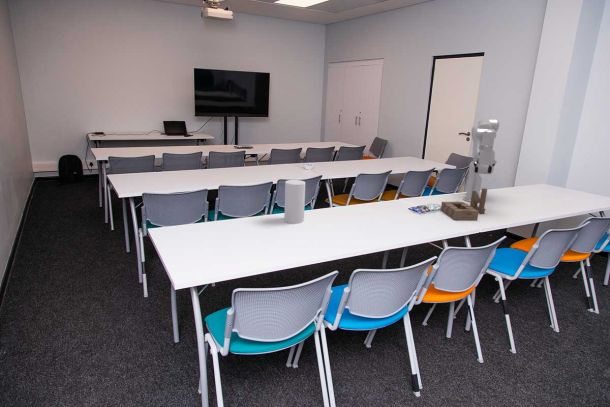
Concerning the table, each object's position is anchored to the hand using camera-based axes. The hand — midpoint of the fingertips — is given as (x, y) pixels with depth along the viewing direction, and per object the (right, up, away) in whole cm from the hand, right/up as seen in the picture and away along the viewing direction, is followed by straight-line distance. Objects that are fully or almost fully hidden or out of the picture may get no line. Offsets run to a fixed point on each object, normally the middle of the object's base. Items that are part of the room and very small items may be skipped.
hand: (482, 172), depth 280 cm
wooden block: (-1, -28, +8) cm, 29 cm away
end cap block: (-18, -30, -1) cm, 35 cm away
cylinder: (-132, -32, -26) cm, 138 cm away
